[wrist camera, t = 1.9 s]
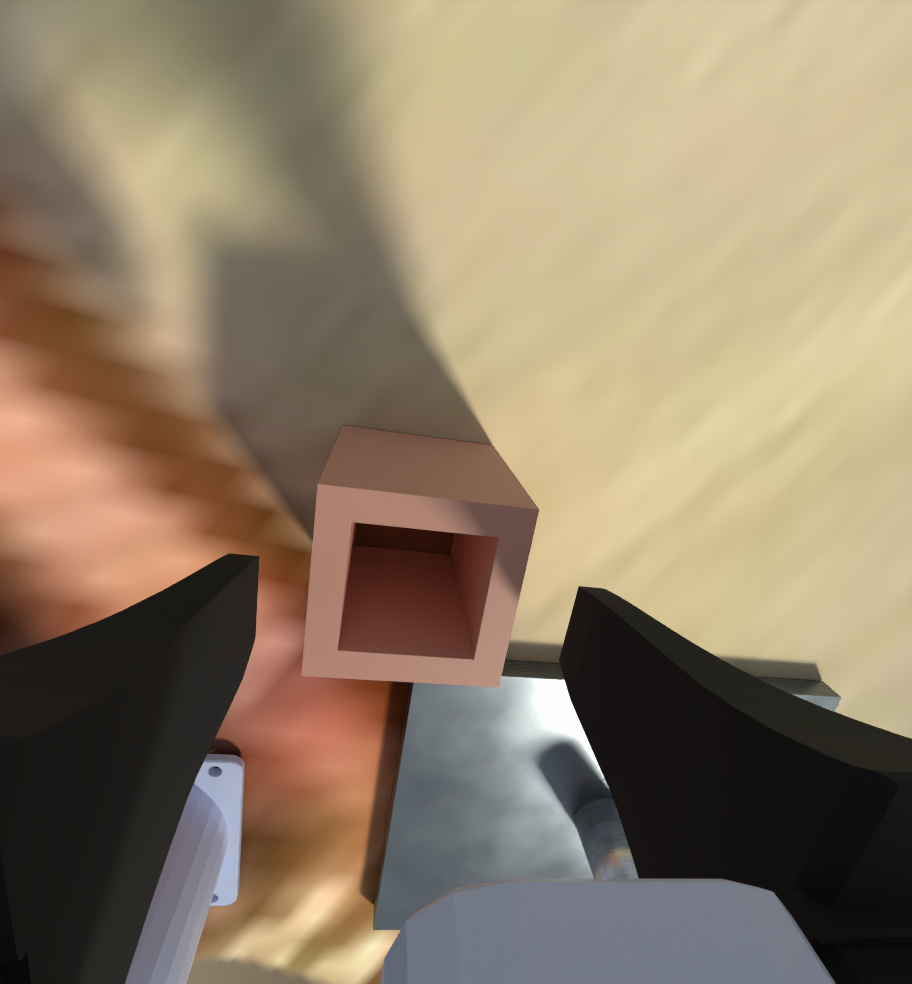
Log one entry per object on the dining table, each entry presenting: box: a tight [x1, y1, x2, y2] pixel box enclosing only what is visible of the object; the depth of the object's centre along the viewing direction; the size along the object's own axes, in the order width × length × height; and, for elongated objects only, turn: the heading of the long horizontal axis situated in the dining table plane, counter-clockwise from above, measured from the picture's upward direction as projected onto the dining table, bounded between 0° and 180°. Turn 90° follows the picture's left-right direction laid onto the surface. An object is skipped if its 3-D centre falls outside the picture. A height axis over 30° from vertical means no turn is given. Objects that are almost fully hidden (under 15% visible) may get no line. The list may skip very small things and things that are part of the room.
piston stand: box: [373, 660, 841, 930], centre depth 21 cm, size 18×14×5 cm
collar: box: [302, 425, 539, 687], centre depth 15 cm, size 5×5×6 cm
